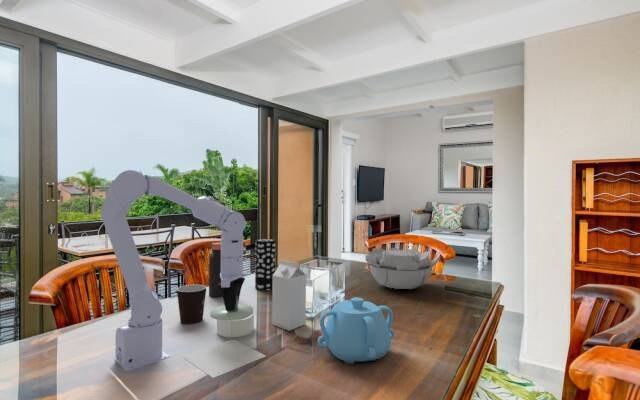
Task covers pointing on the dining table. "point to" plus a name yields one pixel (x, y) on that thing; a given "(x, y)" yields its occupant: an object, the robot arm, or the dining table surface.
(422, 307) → the dining table surface
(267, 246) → the spotted tube
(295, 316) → the milk carton
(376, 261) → the decorative bowl
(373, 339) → the decorative pot
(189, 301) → the coffee mug
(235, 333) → the bowl
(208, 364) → the mat
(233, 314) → the lid
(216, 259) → the bottle
